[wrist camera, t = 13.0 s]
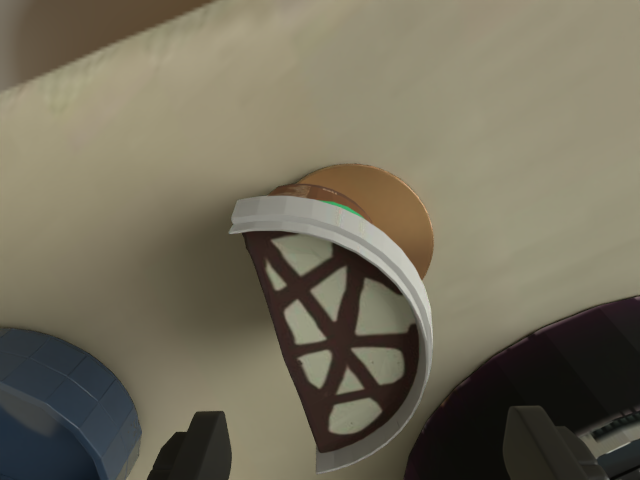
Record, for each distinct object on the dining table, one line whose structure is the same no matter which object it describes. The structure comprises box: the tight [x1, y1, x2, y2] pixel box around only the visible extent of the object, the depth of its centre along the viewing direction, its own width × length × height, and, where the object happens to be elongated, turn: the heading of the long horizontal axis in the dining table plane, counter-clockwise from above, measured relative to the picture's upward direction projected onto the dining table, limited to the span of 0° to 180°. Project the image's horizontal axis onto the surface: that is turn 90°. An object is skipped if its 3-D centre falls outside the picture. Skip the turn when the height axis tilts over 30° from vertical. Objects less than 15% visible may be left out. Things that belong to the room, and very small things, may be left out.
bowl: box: [0, 328, 142, 480], centre depth 28 cm, size 16×16×5 cm
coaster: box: [295, 164, 434, 281], centre depth 24 cm, size 10×10×1 cm
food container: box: [229, 184, 433, 474], centre depth 19 cm, size 12×6×10 cm, turn 15°
